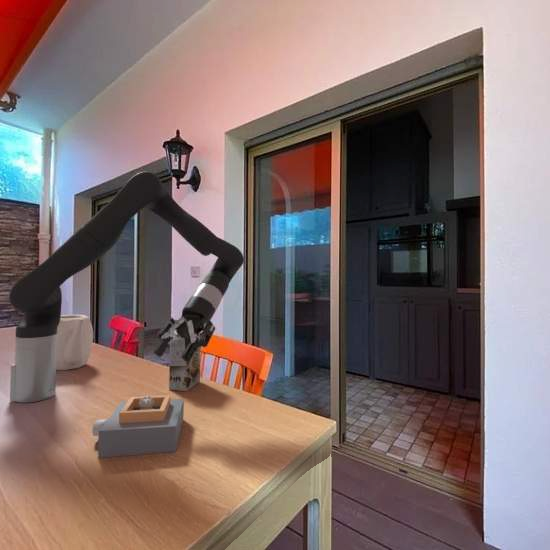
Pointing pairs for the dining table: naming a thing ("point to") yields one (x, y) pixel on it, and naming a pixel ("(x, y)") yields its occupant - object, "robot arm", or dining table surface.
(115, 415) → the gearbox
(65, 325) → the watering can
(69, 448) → the dining table surface
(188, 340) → the coffee box
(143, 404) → the rook chess piece
